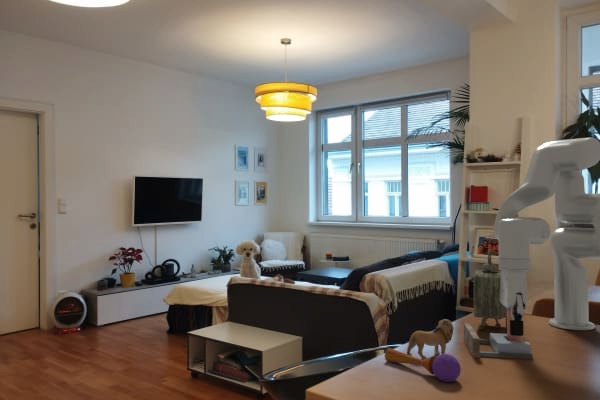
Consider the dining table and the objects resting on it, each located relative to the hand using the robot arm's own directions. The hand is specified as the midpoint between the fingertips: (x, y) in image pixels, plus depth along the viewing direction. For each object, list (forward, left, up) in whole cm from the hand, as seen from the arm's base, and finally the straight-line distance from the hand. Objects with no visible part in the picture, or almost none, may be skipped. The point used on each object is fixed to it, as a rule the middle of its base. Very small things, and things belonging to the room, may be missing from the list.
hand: (514, 332), depth 126 cm
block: (0, -1, -5) cm, 5 cm away
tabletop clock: (-25, -1, -5) cm, 25 cm away
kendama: (+20, -26, -5) cm, 33 cm away
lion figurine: (+8, -22, -5) cm, 24 cm away
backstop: (0, -5, -5) cm, 7 cm away
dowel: (0, 0, -5) cm, 5 cm away
